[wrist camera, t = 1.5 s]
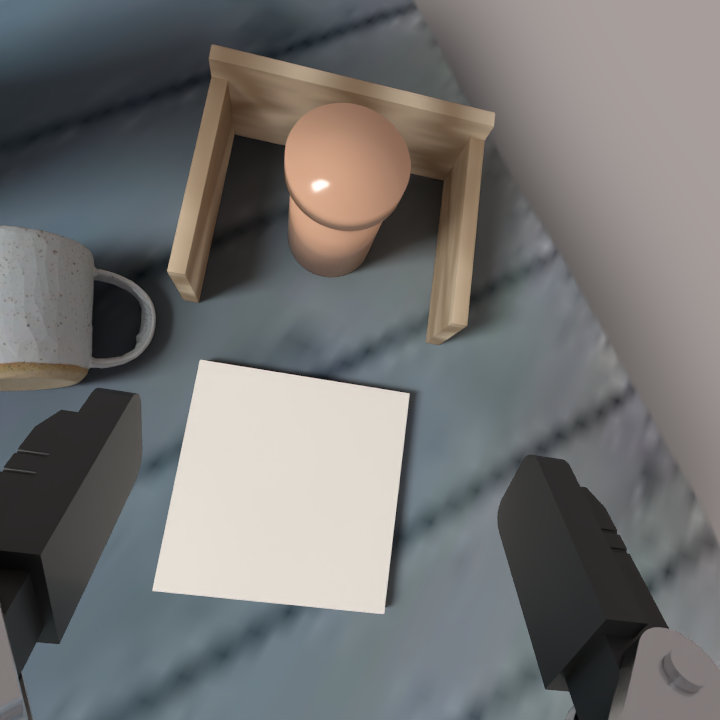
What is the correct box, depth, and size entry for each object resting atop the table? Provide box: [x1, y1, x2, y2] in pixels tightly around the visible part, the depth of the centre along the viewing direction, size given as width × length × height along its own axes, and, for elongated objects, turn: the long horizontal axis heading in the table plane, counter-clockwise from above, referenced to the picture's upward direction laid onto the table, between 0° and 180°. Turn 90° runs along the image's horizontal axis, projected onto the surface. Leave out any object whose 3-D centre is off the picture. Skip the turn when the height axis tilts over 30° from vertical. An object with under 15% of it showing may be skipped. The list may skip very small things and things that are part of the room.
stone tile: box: [152, 360, 410, 614], centre depth 33 cm, size 14×14×1 cm
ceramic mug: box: [0, 226, 156, 391], centre depth 29 cm, size 11×8×8 cm
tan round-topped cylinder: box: [284, 103, 411, 277], centre depth 32 cm, size 7×7×10 cm
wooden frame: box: [167, 44, 495, 345], centre depth 34 cm, size 18×14×7 cm
